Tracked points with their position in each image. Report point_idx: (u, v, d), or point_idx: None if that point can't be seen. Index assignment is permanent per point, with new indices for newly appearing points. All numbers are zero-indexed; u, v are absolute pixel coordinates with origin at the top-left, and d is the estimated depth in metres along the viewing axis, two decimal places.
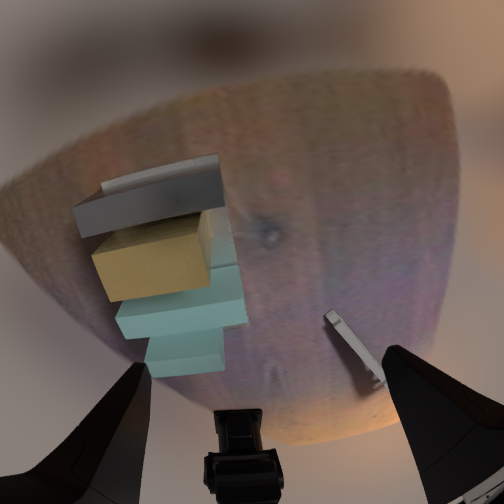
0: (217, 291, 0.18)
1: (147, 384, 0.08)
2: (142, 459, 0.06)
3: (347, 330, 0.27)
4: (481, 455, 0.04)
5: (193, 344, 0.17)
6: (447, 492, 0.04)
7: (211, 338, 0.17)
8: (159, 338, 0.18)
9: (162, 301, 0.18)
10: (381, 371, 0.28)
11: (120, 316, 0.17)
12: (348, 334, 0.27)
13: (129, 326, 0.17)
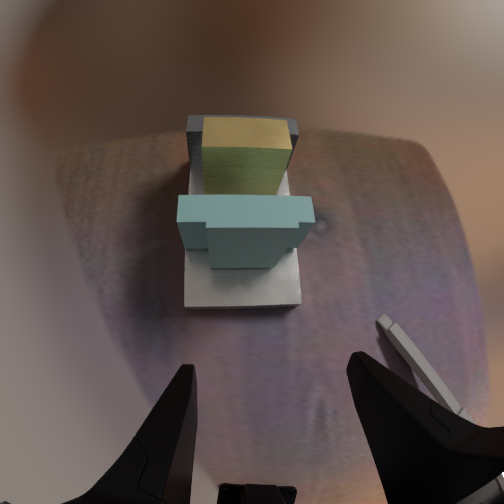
0: None
1: (195, 386, 0.08)
2: (192, 463, 0.07)
3: (404, 334, 0.21)
4: (444, 480, 0.04)
5: None
6: None
7: None
8: None
9: None
10: (451, 396, 0.18)
11: (185, 195, 0.18)
12: (406, 339, 0.21)
13: (190, 206, 0.18)
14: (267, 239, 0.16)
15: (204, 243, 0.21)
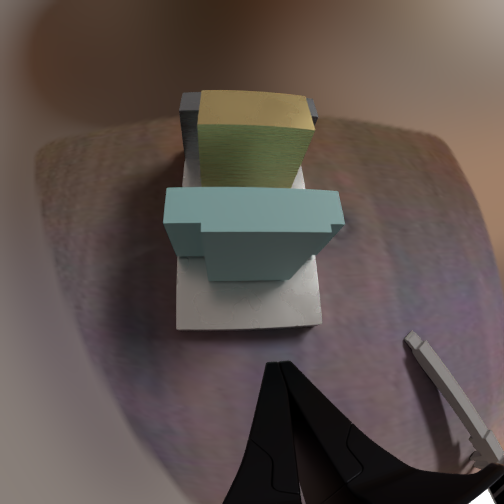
0: None
1: None
2: None
3: (434, 354, 0.17)
4: None
5: None
6: None
7: None
8: None
9: None
10: (479, 419, 0.13)
11: (175, 188, 0.13)
12: (436, 360, 0.17)
13: (181, 201, 0.13)
14: (286, 248, 0.12)
15: (201, 249, 0.16)
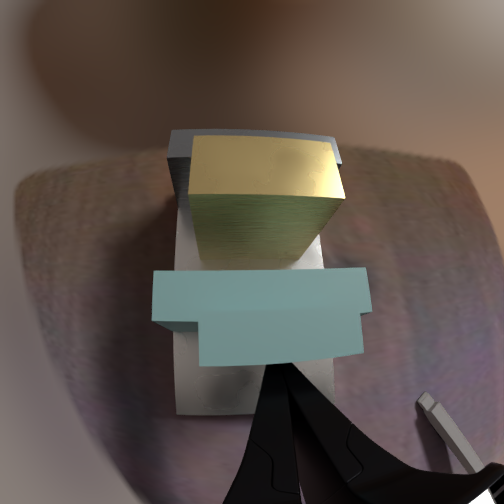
0: None
1: None
2: None
3: (446, 414, 0.14)
4: None
5: None
6: None
7: None
8: None
9: None
10: None
11: None
12: (447, 420, 0.14)
13: (172, 291, 0.10)
14: None
15: None
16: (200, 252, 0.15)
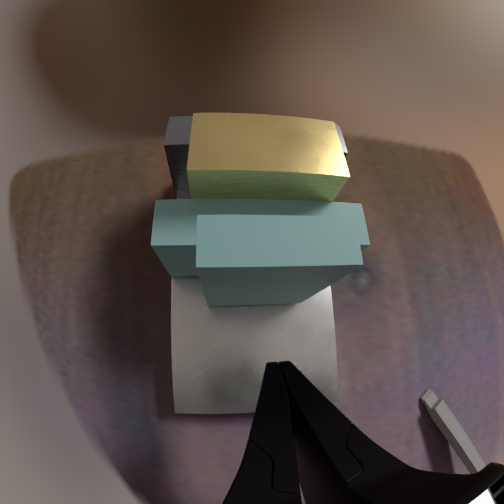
0: None
1: None
2: None
3: (449, 412, 0.14)
4: None
5: None
6: None
7: None
8: None
9: None
10: None
11: (166, 200, 0.11)
12: (450, 418, 0.13)
13: (172, 218, 0.11)
14: (303, 279, 0.10)
15: None
16: None
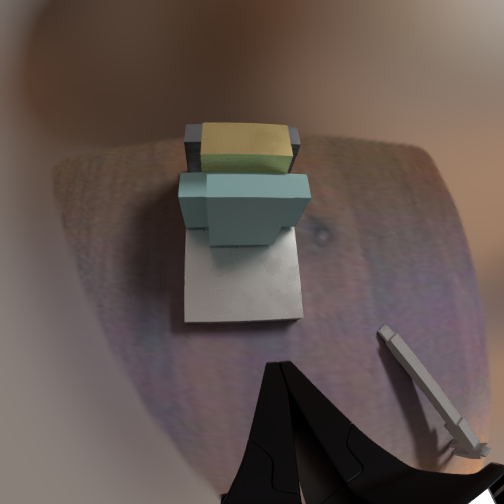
0: None
1: None
2: None
3: (405, 345, 0.21)
4: None
5: None
6: None
7: None
8: None
9: None
10: (451, 406, 0.17)
11: (186, 173, 0.18)
12: (407, 350, 0.21)
13: (191, 182, 0.18)
14: (264, 211, 0.17)
15: (204, 221, 0.21)
16: None
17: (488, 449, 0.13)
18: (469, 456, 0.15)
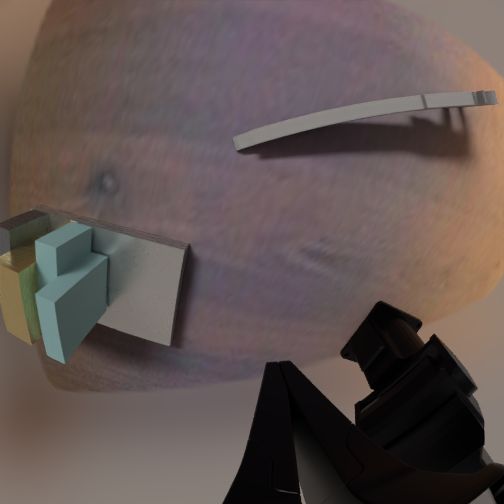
0: None
1: None
2: None
3: (270, 126, 0.16)
4: None
5: None
6: None
7: None
8: None
9: None
10: (396, 100, 0.14)
11: None
12: (278, 127, 0.16)
13: None
14: (70, 309, 0.14)
15: None
16: None
17: (492, 93, 0.11)
18: (479, 105, 0.13)
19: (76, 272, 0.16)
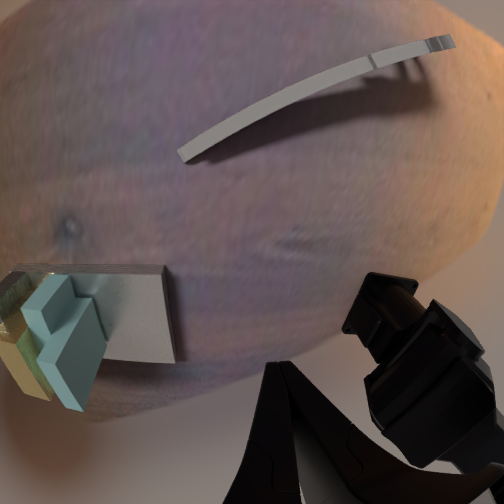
0: None
1: None
2: None
3: (210, 131, 0.15)
4: None
5: None
6: None
7: None
8: None
9: None
10: (340, 67, 0.13)
11: None
12: (219, 129, 0.15)
13: None
14: (72, 362, 0.14)
15: None
16: None
17: (447, 37, 0.09)
18: None
19: (67, 325, 0.15)
